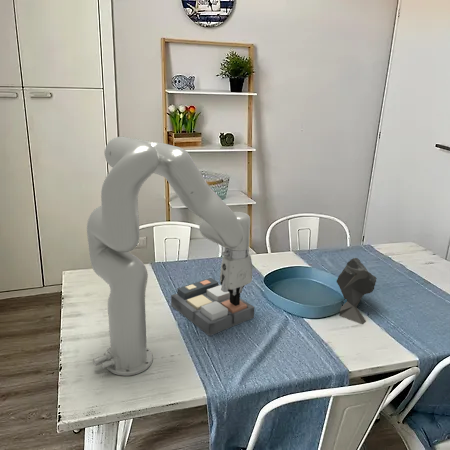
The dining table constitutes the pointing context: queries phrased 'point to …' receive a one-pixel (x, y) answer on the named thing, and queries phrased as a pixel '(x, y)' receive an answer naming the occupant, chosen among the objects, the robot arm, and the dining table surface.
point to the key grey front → (214, 311)
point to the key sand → (198, 301)
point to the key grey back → (217, 294)
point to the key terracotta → (233, 306)
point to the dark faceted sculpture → (354, 288)
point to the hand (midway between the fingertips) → (234, 303)
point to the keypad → (195, 315)
